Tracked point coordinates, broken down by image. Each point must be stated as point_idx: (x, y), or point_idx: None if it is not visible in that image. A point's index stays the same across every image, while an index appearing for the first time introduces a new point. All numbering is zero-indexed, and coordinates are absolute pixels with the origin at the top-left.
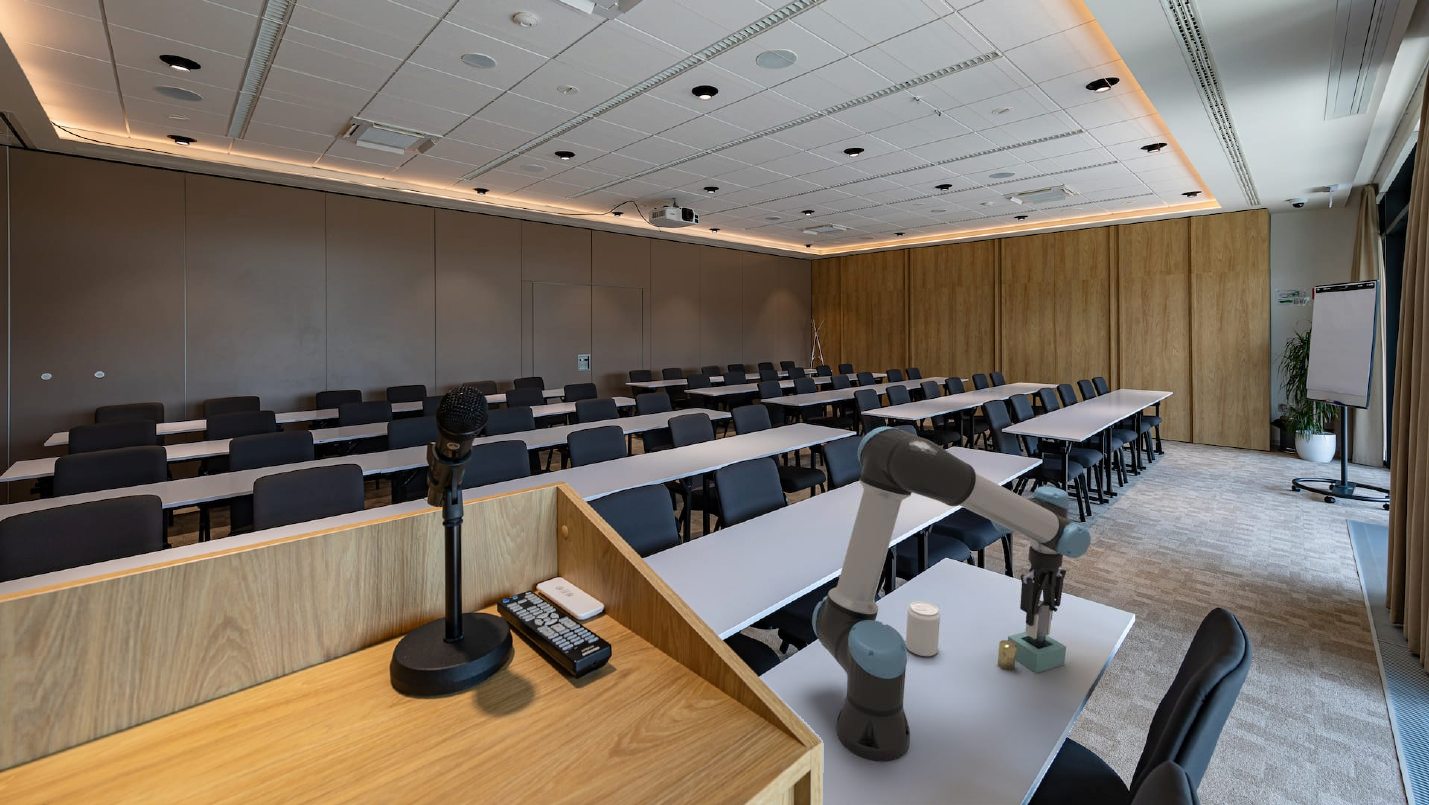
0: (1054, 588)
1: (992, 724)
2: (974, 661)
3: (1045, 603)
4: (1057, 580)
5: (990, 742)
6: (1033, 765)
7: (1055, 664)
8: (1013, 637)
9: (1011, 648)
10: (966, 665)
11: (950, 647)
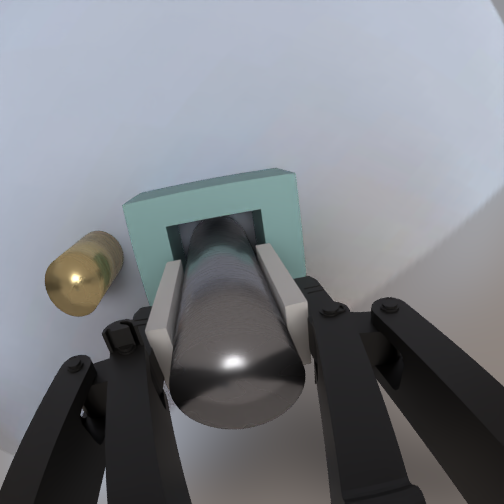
0: (439, 421)
1: (12, 397)
2: (28, 216)
3: (285, 386)
4: (482, 492)
5: (6, 416)
6: None
7: None
8: (139, 217)
9: (71, 312)
10: (4, 231)
11: (4, 136)
